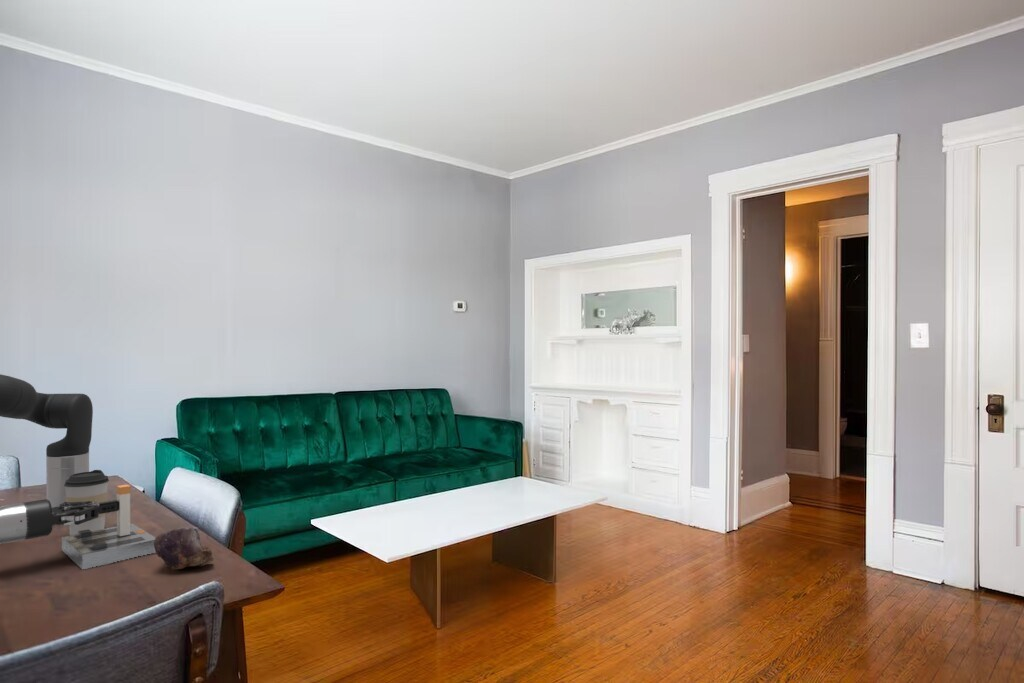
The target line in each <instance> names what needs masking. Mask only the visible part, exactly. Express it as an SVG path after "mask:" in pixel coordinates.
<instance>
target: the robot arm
mask: <svg viewBox="0 0 1024 683" xmlns="http://www.w3.org/2000/svg"><path fill="white" fill-rule="evenodd" d="M93 411H94V409H93V402H92V399H91V398H90V397H89V396H88V394H85V393H43V392H37V390H36V388H35V387H34V386H33V385H32V384H31V383H29V382H28V381H25V380H24V379H20V378H17V377H14V376H9V375H5V374H2V373H0V417H1V418H7V419H13V420H26V421H29V422H32V423H34V424H36V425H39V426H42V427H45V428H48V429H54V430H55V429H56V430H57V429H60V430H61V429H66V434H65V436H64V437H63V438H62V439H60V440H58V441H55V442H51V443H49V444H48V445H46V449H45V451H46V461H45V463H46V465H45V466H46V472H45V473H46V476H45V477H46V478H45V480H46V482H45V483H46V499H45V498H44V499H38V500H37V499H36V500H30V501H25V502H18V503H13V504H12V503H11V504H6V505H1V506H0V544H8V543H9V544H10V543H15V542H21V541H26V540H31V539H36V538H41V537H47V536H49V535H50V534H51V533H52V532H53V526H55V525H61V526H69V525H70V524H72V523H74V524H75V525H79V524H81V523H84V522H87V521H89V520H92V519H95V518H97V517H99V515H100V514H103V513H106V514H108V513H114V512H117V511H118V510H119V501H117V499H113V500H107V502H100V503H98V502H93V503H92V501H87V502H66V497H65V495H66V488H65V486H64V484H65V481H66V480H67V479H69V477H70V476H71V475H73V474H76V473H82V472H90V445H91V442H92V431H93V429H92V428H93V417H94V416H93V415H94V414H93V413H94V412H93Z"/></svg>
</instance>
